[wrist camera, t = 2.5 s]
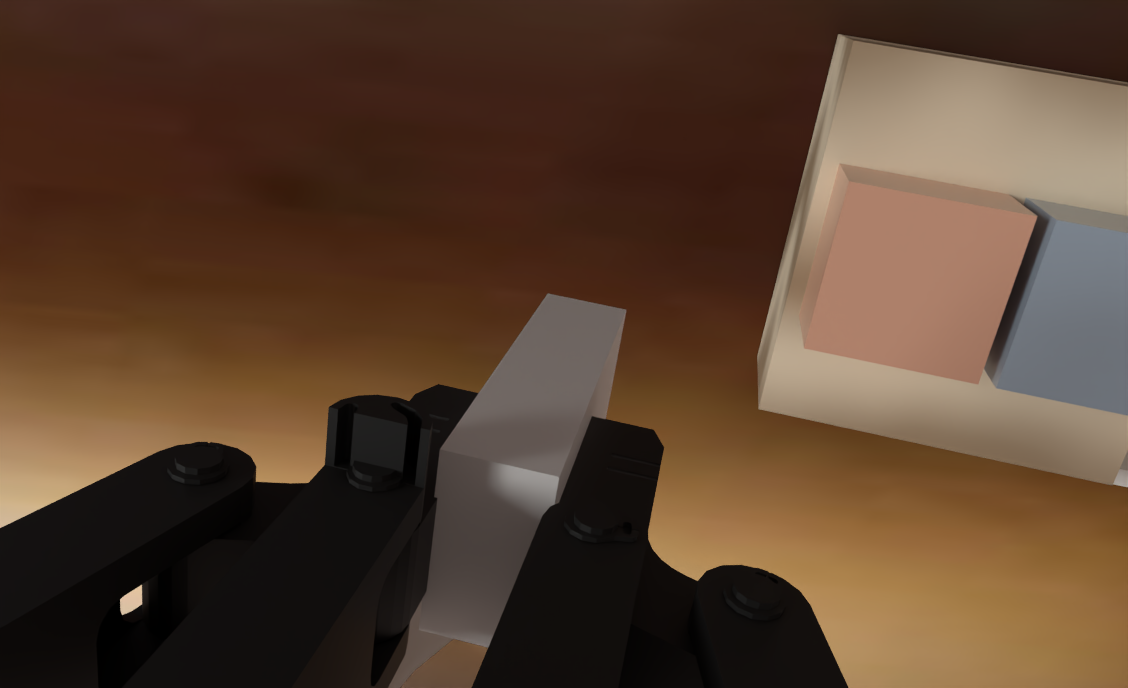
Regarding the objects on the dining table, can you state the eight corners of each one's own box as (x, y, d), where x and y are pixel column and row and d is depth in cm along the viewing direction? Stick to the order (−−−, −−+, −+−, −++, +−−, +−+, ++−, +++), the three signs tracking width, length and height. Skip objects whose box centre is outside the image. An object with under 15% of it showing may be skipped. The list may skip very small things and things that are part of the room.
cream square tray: (838, 33, 32) (853, 40, 27) (1194, 93, 30) (1274, 111, 26) (757, 356, 36) (758, 408, 31) (1064, 420, 35) (1112, 485, 30)
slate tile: (1026, 197, 28) (1057, 219, 25) (1203, 229, 27) (1254, 256, 24) (972, 351, 29) (995, 388, 27) (1137, 384, 29) (1178, 425, 26)
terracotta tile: (839, 163, 28) (849, 181, 25) (1008, 194, 28) (1037, 216, 25) (798, 315, 30) (803, 348, 27) (956, 348, 29) (978, 384, 27)
